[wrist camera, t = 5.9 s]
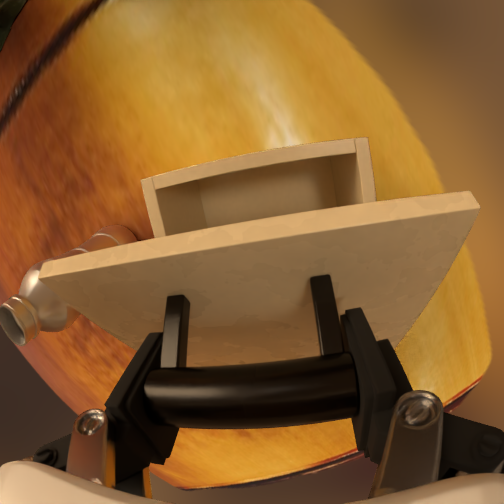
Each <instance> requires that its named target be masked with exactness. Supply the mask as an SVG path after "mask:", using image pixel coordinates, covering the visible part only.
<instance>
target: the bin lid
mask: <svg viewBox="0 0 504 504" xmlns="http://www.w3.org/2000/svg"><path fill="white" fill-rule="evenodd" d="M479 210H480V206H479V204H478V202H477V201H476V199H475V198H474V196H473V195H472V193H471V192H470V191H462V192H452V193H443V194H434V195H425V196H417V197H409V198H401V199H393V200H385V201H377V202H370V203H362V204H355V205H348V206H341V207H334V208H327V209H321V210H314V211H307V212H301V213H295V214H288V215H282V216H276V217H270V218H264V219H258V220H252V221H246V222H240V223H235V224H229V225H223V226H218V227H212V228H207V229H201V230H196V231H190V232H185V233H180V234H175V235H170V236H164V237H159V238H154V239H149V240H144V241H139V242H135V243H130V244H125V245H120V246H115V247H111V248H106V249H101V250H97V251H92V252H88V253H83V254H79V255H74V256H70V257H65V258H61V259H57V260H53V261H48V262H44V263H43V265H42V268H41V270H40V273H39V276H38V279H39V280H40V281H41V282H42V283H43V284H45V285H46V286H47V287H48V288H49V289H51V290H52V291H53V292H54V293H56V294H57V295H58V296H59V297H61V298H62V299H63V300H64V301H66V302H67V303H68V304H69V305H71V306H72V307H73V308H75V309H76V310H77V311H79V312H80V313H81V314H83V315H84V316H85V317H87V318H88V319H90V320H91V321H92V322H94V323H95V324H97V325H98V326H100V327H101V328H102V329H104V330H105V331H107V332H108V333H110V334H111V335H113V336H114V337H116V338H117V339H119V340H120V341H122V342H123V343H125V344H127V345H128V346H130V347H131V348H133V349H135V350H136V351H138V349H139V348H140V346H141V345H142V343H143V342H144V340H145V338H146V337H147V335H148V334H149V333H154V332H163V336H162V347H161V358H160V367H156V368H153V369H152V370H151V371H150V372H149V373H148V375H147V376H146V379H145V382H144V387H143V403H144V408H145V411H146V413H147V415H148V417H149V419H150V420H151V421H152V422H153V423H154V424H156V425H158V426H167V427H179V428H196V429H258V428H275V427H288V426H298V425H307V424H315V423H322V422H329V421H335V420H341V419H347V418H352V417H356V416H357V415H358V412H359V406H360V394H359V382H358V375H357V370H356V365H355V362H354V358H353V356H352V354H351V352H350V351H345V349H344V343H343V337H342V332H341V326H340V315H343V314H345V310H348V309H353V308H358V307H361V308H362V310H363V312H364V315H365V317H366V319H367V321H368V323H369V325H370V327H371V330H372V332H373V334H374V336H375V338H376V341H378V340H383V339H388V340H389V341H390V343H391V345H392V347H393V349H395V348H396V346H397V345H398V344H399V342H400V341H401V340H402V339H403V337H404V336H405V335H406V333H407V332H408V331H409V329H410V328H411V327H412V325H413V324H414V322H415V321H416V320H417V318H418V317H419V315H420V314H421V312H422V311H423V310H424V308H425V307H426V305H427V304H428V302H429V301H430V299H431V298H432V296H433V295H434V293H435V291H436V290H437V288H438V287H439V285H440V284H441V282H442V280H443V279H444V277H445V275H446V274H447V272H448V270H449V269H450V267H451V265H452V263H453V262H454V260H455V258H456V256H457V254H458V253H459V251H460V249H461V247H462V245H463V243H464V241H465V239H466V237H467V236H468V233H469V232H470V230H471V227H472V225H473V223H474V221H475V219H476V217H477V215H478V213H479Z"/></svg>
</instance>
